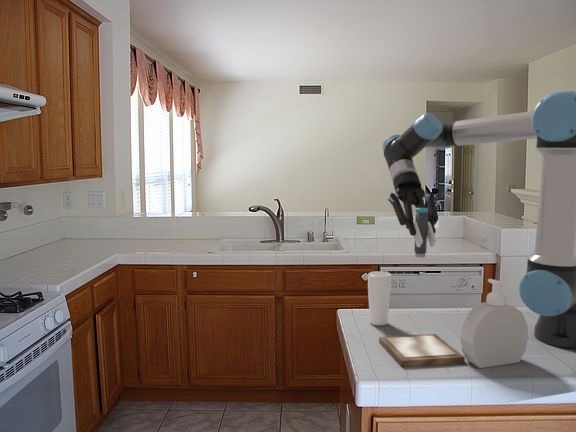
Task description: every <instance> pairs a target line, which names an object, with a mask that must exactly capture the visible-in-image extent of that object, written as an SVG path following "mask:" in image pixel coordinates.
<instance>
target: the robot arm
mask: <svg viewBox="0 0 576 432" xmlns="http://www.w3.org/2000/svg"><path fill="white" fill-rule="evenodd" d="M534 139H536V148H535V149H536V151H537V152H539V154H541V156H542V159H541V171H540V172H541V173H540V183H539V195H538V206H537V207H538V208H537V220H536V234H535V247H534V252H533V253H531V254H530V255H529V256H528V257H527V261H526V262H527V263H526V264H527V265H526V274H525V275H524V276H523V277H522V278H521V280H520V282H519V285H518V292H519V297H520V298H521V300H522V301H521V302H522V303H523V304H524V305H525V306H526V307H527V308H528V309H529V310H530V311H531V312H533V313H535V314H537V315H539V316H538V318H537V321H536V324H535V325H534V329H533V336H534V337H535V338H536V339H537V340H538V341H541V342H542V343H546V344H548V345H551V346H554V347H555V346H556V347H560V348H565V349H575V350H576V256H575V246H576V244H575V242H576V92H575V91H573V90H570V91H568V90H563V91H562V90H561V91H560V90H559V91H556V92H552V93H550V94H548V95H546V96H544V97H543V98H542V99H541V100H540V101H539V102H538V103H537V104H536V106H535V108H534V110H532V111H531V110H529V111H524V112H518V113H517V112H516V113H509V114H507V113H506V114H500V115H493V116H486V117H485V116H484V117H478V118H472V119H463V120H452V121H447V122H441V121H440V120H439V119H438V117H436V115H434V114H432V113H429V112H425V113H423V114H422V115H421V116H420V117H419V118H417V119H416V120H415V121H414V122H413V123H412V124H411V125H409V127H408V128H407V129H406V130H405V131H404V132H402V134H392V135H391V136H387V138H385V139H384V141H383V142H382V143H383V144H382V152H383V157H384V159H385V161H386V164H387V168H388V171H389V175H390V178H391V181H392V184H393V188H394V191H395V193H394V192H391V193H390V195H389V197H388V200H387V201H388V202H389V203H390V204H391V205H392V207H393V209H394V212H395V215H396V217H397V221H398V222H399V225H400V226H405V228H406V229H407V230H408V232H409V235H411V236H412V237H413V238H414V243H415V242H416V245H417V247H420V246H421V244H422V242H423V240H422V237H421V233H420V230H419V227H418V224H417V222H415V221H414V220H415V219H414V215H413V206H414V207H415V209H416V208H428V222H427V241H428V243H429V247H430V248H433V247H434V246H435V245H436V243H437V238H436V236H435V234H436V231H437V230H436V228H435V225H436V224H437V222H438V221H439V219H440V218H439V215H438V214H439V213H438V210H437V207H436V203H435V199H434V198H435V193H433V192H430V193H426V192H425V190H424V189H423V187H422V182H421V180H420V178H419V174H418V171H417V168H416V166H415V164H414V160H413V158H415V157H416V156H417V155H418V154H419V153H421V152H422V151H423V150H424V149H425V148H442V149H445V148H447V149H448V148H452V147H457V146H469V145H470V146H471V145H479V144H480V145H481V144H493V143H502V142H503V143H504V142H512V141H523V140H534ZM401 202H402V203H403V206H402V204H401ZM425 202H426V204H425Z"/></svg>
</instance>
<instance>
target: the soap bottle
mask: <svg viewBox="0 0 576 432" xmlns="http://www.w3.org/2000/svg"><path fill="white" fill-rule="evenodd" d="M487 283H490V284H492V285H491V286H492V287H491V288H492V289H491V292H489V293H488V294H487V295H486V301H484V302H478V304H476V305H475V306H474V307H472V309H471V310H469V312H468V314H467V316H466V317H465V319H464V321H463V323H462V327H461V332H460V337H459V338H460V346H461V352H462V353H463V354H462V355H463V356H464V357H465V360H466V361H467V362H469V363H471V364H473V365H474V366H475V367H477V368H478V369H484V368H493V367H499V366H506V365H511V364H519V363H520V361H521V360H522V357H523V356H524V355H525V352H526V349H527V345H528V341H529V331H528V323H527V321H526V319H525V316H524V314H523V312H522V311H520V309H518V308H517V307H515V306H514V305H512V304H509V303H507V297H506V295H505V294H504V293H502V290H503V289H502V288H503V281H501V280H497V279H493V278H488V279H487Z"/></svg>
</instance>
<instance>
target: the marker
mask: <svg viewBox="0 0 576 432" xmlns="http://www.w3.org/2000/svg"><path fill="white" fill-rule="evenodd" d="M414 220H415V221H414V222H417V224H418V227H419V230H420V233H421V237H422V240H423V242H422V244H421V246H420V247H417V245H416V242H415V241H414V247H413V248H414V250H413V251H414V253H415V255H414V256H415V257H416V258H422V259H423V258H425V257H426V254H427V250H428V249H427V248H428V247H427V245H428V244H427V243H428V237H427V222H428V207H426V208H416V207H415V219H414Z"/></svg>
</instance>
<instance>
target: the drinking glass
mask: <svg viewBox="0 0 576 432" xmlns="http://www.w3.org/2000/svg"><path fill="white" fill-rule="evenodd" d="M367 275H368V277H367V294H368V296H367V297H368V311H369V313H368V314H369V323H370V324H371V325H373V326H378V327H379V326H382V327H383V326H386V325H387V324H388V322H389V321H388V320H389V310H390V309H389V308H390V299H391V292H392V274H391V272H388V271H379V270H378V271H370V272H368V274H367Z"/></svg>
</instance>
